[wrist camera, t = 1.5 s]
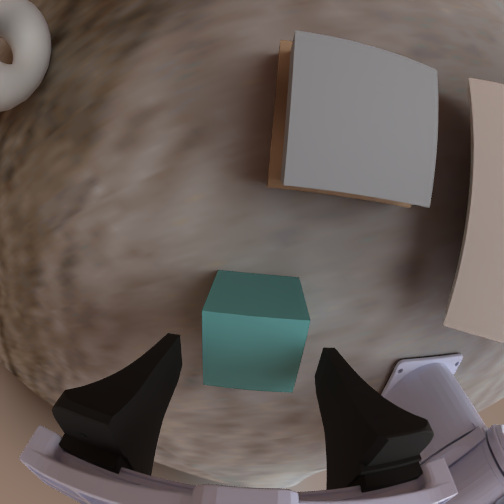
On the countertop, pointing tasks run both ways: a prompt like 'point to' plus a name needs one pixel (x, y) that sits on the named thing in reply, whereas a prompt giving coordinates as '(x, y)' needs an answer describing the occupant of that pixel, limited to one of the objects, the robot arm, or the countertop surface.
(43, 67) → the donut
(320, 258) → the countertop surface
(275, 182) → the block
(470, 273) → the stacked pizza boxes
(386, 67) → the tower top
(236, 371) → the teal cube
